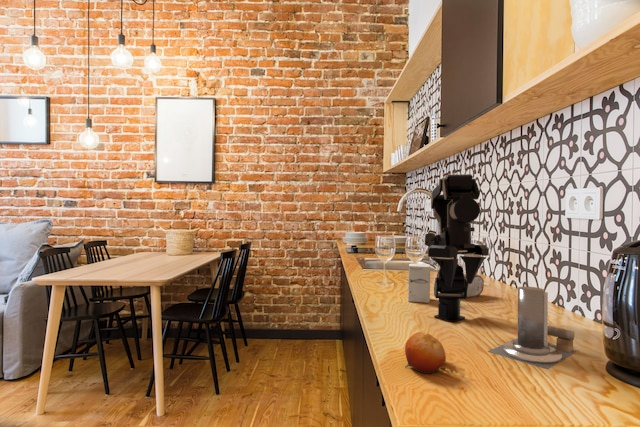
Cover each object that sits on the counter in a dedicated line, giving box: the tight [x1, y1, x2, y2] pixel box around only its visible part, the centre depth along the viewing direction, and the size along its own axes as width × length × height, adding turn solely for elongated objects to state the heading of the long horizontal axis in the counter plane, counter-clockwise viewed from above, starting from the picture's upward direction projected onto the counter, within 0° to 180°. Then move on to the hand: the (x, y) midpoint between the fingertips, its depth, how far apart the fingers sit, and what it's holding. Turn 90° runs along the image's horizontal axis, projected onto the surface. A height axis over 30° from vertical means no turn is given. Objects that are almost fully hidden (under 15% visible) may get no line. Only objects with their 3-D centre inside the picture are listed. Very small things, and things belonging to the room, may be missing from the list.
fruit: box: [404, 331, 447, 375], centre depth 78 cm, size 8×8×8 cm
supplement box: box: [407, 263, 431, 304], centre depth 137 cm, size 7×7×13 cm
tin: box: [464, 273, 485, 299], centre depth 142 cm, size 15×3×8 cm, turn 118°
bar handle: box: [547, 325, 575, 353], centre depth 88 cm, size 11×2×4 cm, turn 38°
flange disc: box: [502, 341, 563, 364], centre depth 82 cm, size 11×11×1 cm
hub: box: [512, 286, 550, 356], centre depth 83 cm, size 7×7×13 cm
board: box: [487, 337, 579, 370], centre depth 84 cm, size 16×12×1 cm
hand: (459, 285), depth 98 cm, fingers open, 9 cm apart
